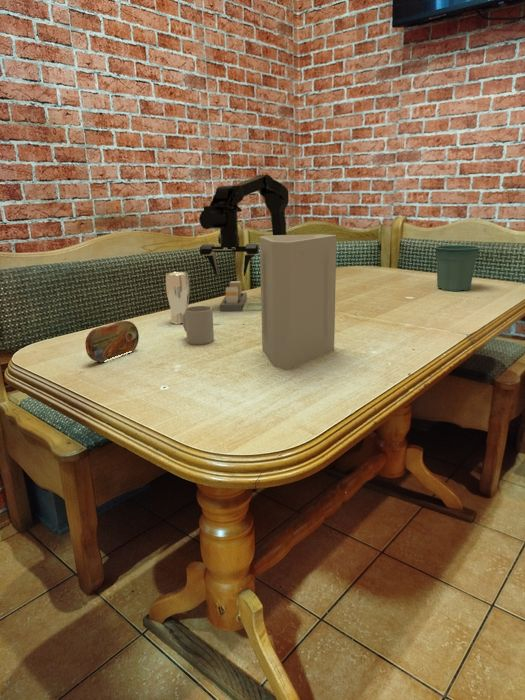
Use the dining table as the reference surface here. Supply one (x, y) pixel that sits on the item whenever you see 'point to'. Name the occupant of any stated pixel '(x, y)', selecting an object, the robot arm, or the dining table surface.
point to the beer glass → (177, 294)
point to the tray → (252, 307)
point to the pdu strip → (234, 306)
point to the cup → (198, 324)
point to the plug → (232, 295)
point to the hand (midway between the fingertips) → (230, 275)
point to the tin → (111, 340)
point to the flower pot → (455, 266)
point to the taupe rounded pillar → (297, 297)
